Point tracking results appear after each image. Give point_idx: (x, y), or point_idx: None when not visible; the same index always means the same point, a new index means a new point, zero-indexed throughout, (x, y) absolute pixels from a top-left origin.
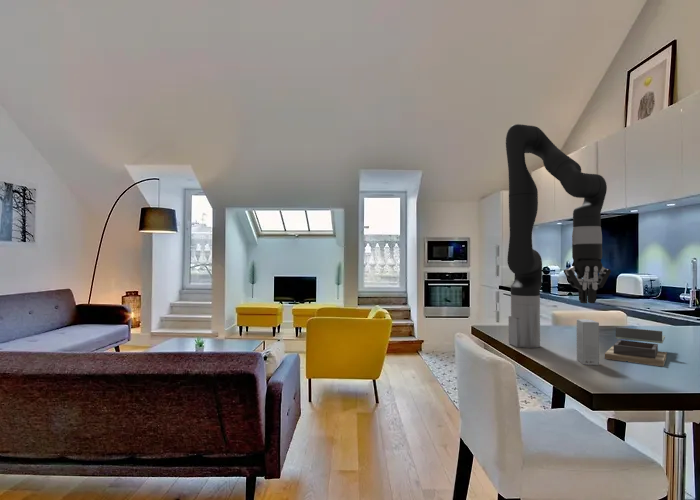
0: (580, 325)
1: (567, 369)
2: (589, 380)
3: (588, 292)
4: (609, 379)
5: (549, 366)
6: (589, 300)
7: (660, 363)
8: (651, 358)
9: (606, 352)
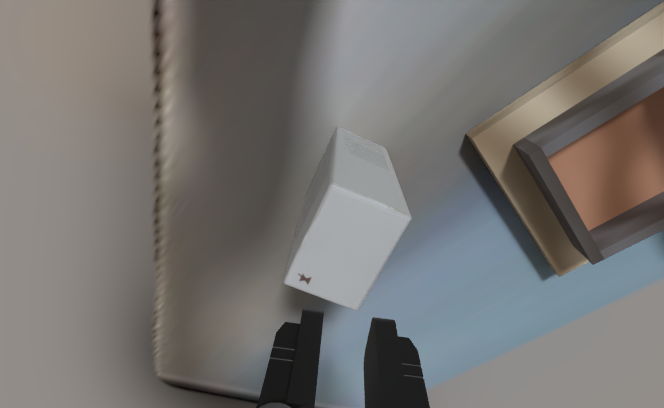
0: (301, 235)
1: (215, 226)
2: (208, 318)
3: (379, 397)
4: (265, 322)
5: (176, 183)
6: (370, 344)
7: (551, 265)
8: (562, 242)
9: (498, 124)
